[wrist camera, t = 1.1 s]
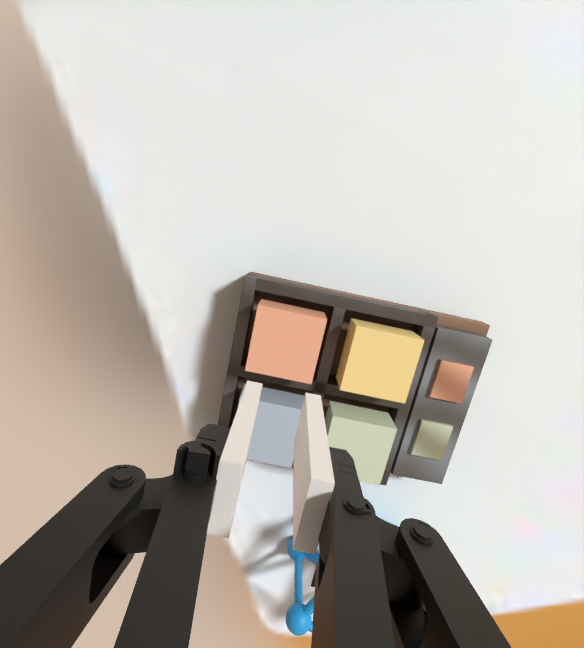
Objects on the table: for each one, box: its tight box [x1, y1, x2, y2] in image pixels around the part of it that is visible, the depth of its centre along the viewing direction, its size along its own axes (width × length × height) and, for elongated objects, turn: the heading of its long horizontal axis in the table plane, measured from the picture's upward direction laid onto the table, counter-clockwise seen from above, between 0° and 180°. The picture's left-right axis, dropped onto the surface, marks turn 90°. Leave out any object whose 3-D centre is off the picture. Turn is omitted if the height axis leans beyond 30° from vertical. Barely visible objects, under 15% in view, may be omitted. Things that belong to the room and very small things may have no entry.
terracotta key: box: [245, 299, 327, 384], centre depth 31 cm, size 6×6×3 cm
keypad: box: [218, 272, 492, 485], centre depth 35 cm, size 17×23×4 cm
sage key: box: [325, 401, 397, 485], centre depth 33 cm, size 6×6×3 cm
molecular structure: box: [286, 538, 319, 636], centre depth 36 cm, size 10×10×10 cm
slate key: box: [238, 384, 304, 468], centre depth 32 cm, size 6×6×3 cm
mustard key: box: [336, 318, 425, 403], centre depth 31 cm, size 6×6×3 cm
